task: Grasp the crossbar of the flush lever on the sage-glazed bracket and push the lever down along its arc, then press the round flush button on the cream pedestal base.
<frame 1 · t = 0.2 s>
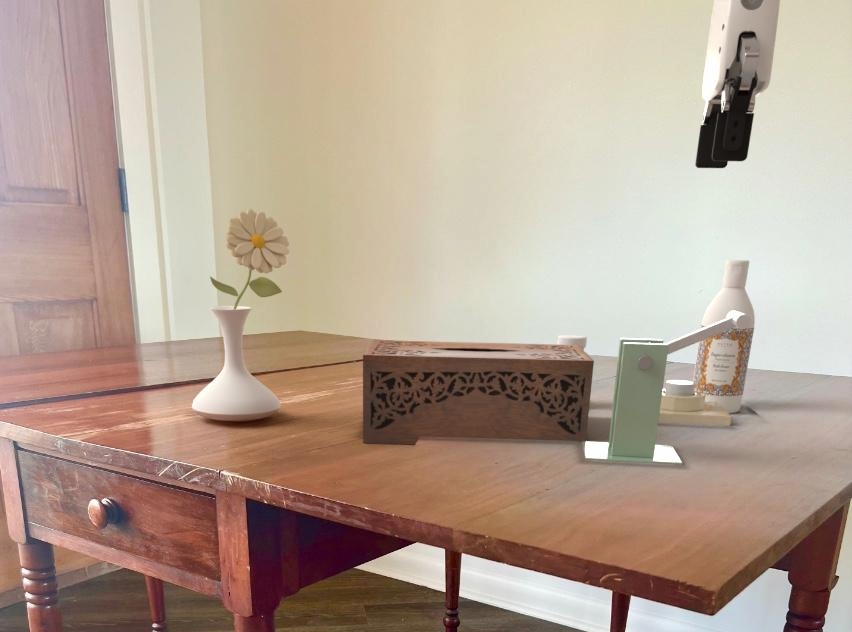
hand: (719, 164, 87), 30 cm above the table, tool pointing down, fingers open, 9 cm apart
cream pedestal base: (674, 423, 115), on the table
flush lever: (685, 341, 89), point 13 cm above the table, hinge at 25.0°
bath foam: (714, 411, 124), on the table
supplement bottle: (566, 407, 125), on the table
tissue box cover: (472, 434, 107), on the table
lever bracket: (628, 462, 95), on the table
flower in vase: (244, 420, 113), on the table
flush button: (679, 389, 113), point 4 cm above the table, slide at 0.1 cm
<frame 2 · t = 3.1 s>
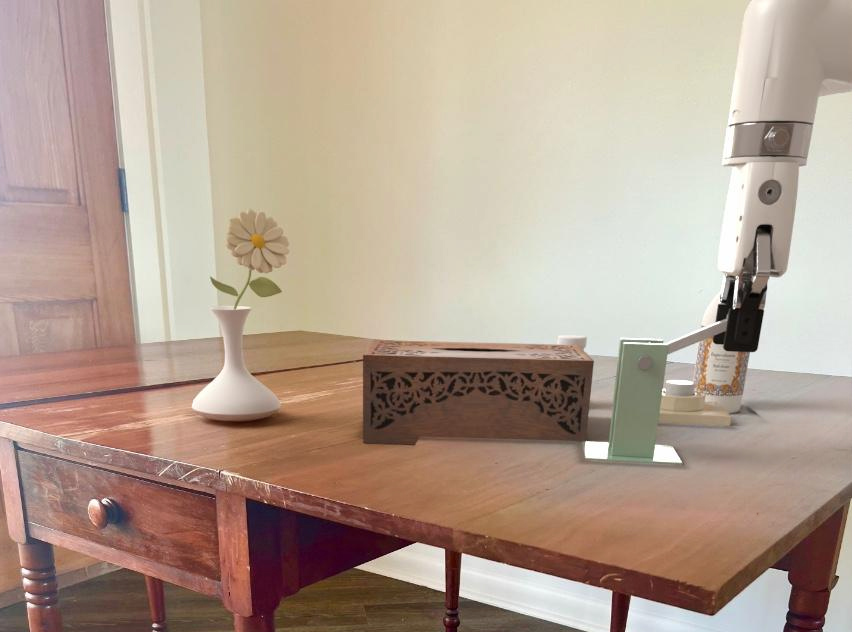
hand: (734, 345, 89), 13 cm above the table, tool pointing down, fingers closed on flush lever, 5 cm apart
flush lever: (685, 341, 89), point 13 cm above the table, hinge at 25.0°, touching gripper
everything else where it was.
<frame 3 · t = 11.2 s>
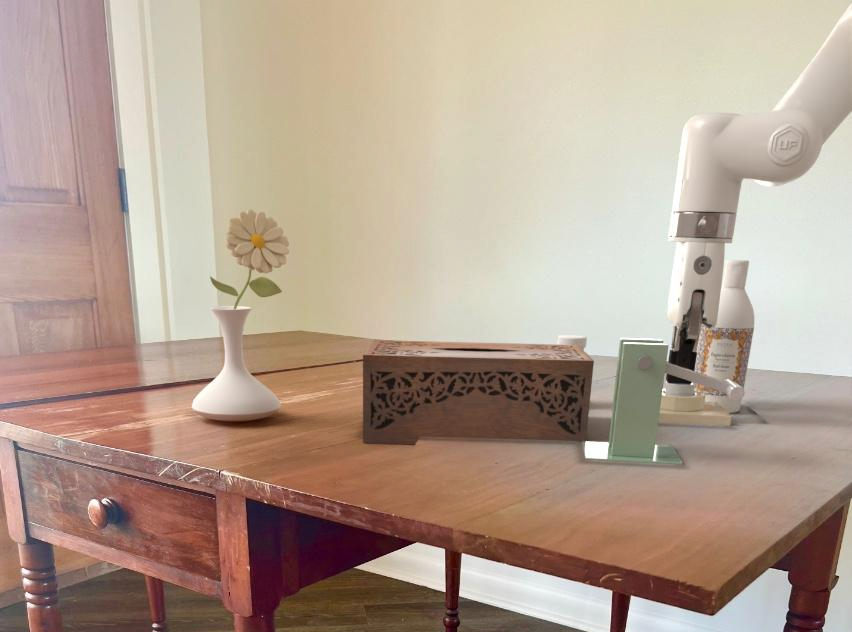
hand: (678, 382, 113), 5 cm above the table, tool pointing down, fingers closed
flush lever: (683, 373, 90), point 10 cm above the table, hinge at -16.0°
flush button: (679, 389, 113), point 4 cm above the table, slide at 0.0 cm, touching gripper
everything else where it was.
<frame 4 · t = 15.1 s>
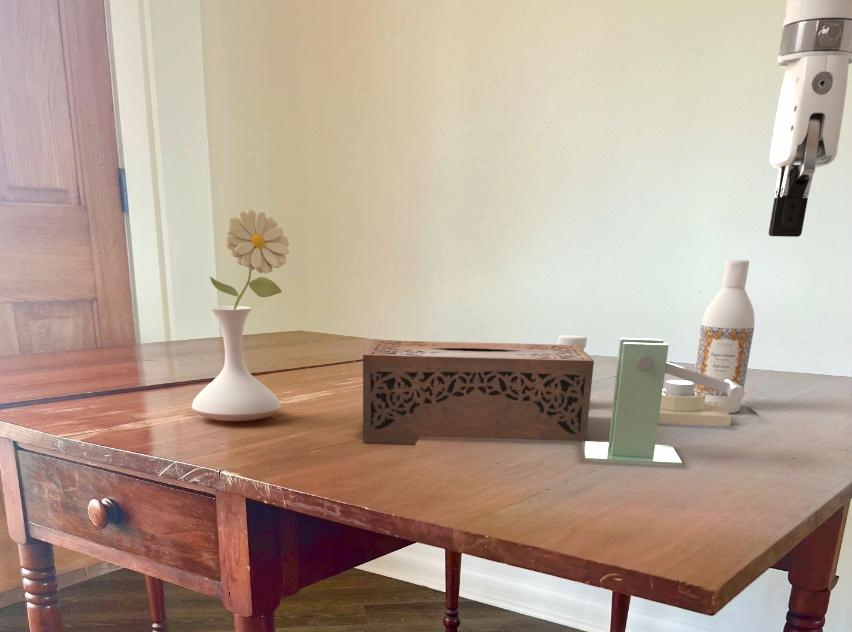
hand: (784, 236, 98), 23 cm above the table, tool pointing down, fingers closed
flush button: (679, 389, 113), point 4 cm above the table, slide at 0.1 cm
everything else where it was.
at the end: flush lever at -16° (first picture: +25°); flush button pushed in 1.1 cm at the most during the clip, back to where it started at the end; flush button slide at 0.1 cm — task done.
